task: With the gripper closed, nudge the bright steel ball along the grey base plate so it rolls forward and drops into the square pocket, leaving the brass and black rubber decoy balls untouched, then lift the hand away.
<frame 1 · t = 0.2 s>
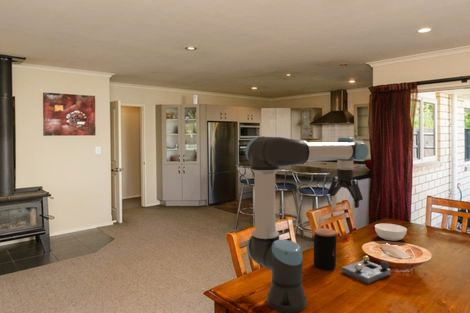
hand: (343, 211, 162), 27 cm above the table, fingers open, 13 cm apart
steel ball: (358, 267, 151), point 4 cm above the table, touching grey base plate
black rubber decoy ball: (384, 264, 153), point 4 cm above the table, touching grey base plate
bowl: (390, 239, 205), on the table
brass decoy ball: (366, 258, 162), point 4 cm above the table, touching grey base plate
grey base plate: (366, 273, 154), on the table
coffee jar: (324, 267, 162), on the table
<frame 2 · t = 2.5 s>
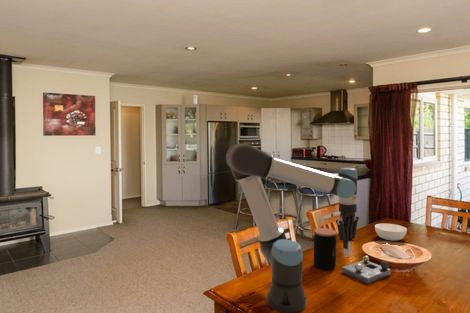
hand: (347, 255, 146), 12 cm above the table, fingers closed
nothing on the table moved.
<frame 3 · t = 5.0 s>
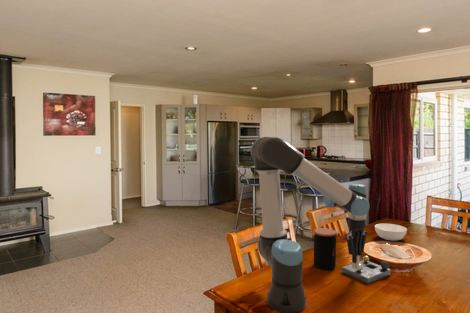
hand: (355, 268, 150), 4 cm above the table, fingers closed
steel ball: (358, 267, 151), point 4 cm above the table, touching gripper, grey base plate
everything else where it was.
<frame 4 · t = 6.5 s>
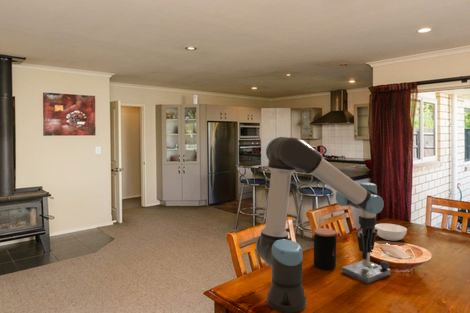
hand: (366, 265, 154), 4 cm above the table, fingers closed
steel ball: (372, 267, 157), point 2 cm above the table, tilted 23°, touching grey base plate
everything else where it was.
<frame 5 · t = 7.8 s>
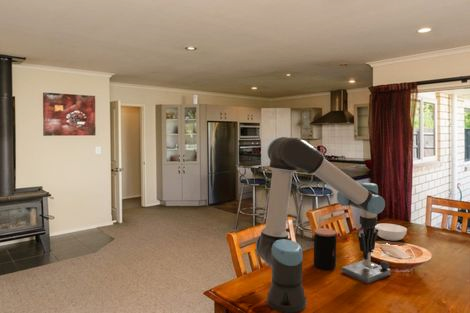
hand: (366, 265, 154), 4 cm above the table, fingers closed
steel ball: (372, 267, 157), point 2 cm above the table, tilted 22°
everything else where it was.
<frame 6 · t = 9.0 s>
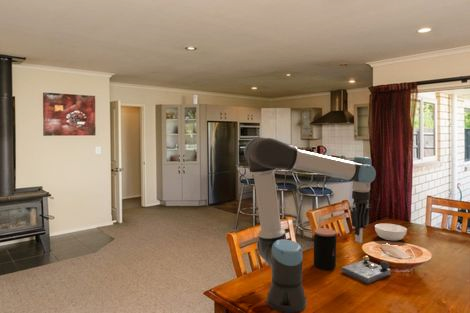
hand: (358, 241, 150), 17 cm above the table, fingers closed
nothing on the table moved.
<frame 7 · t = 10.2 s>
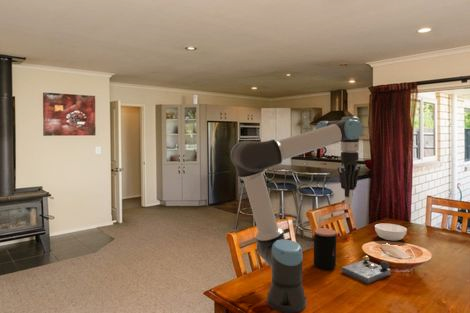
hand: (348, 203, 147), 34 cm above the table, fingers closed
nothing on the table moved.
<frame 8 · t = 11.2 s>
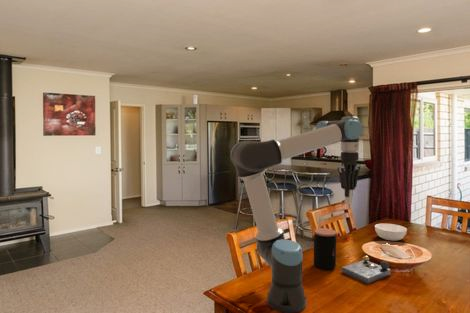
hand: (348, 203, 147), 34 cm above the table, fingers closed
nothing on the table moved.
at the end: steel ball 0.5 cm from the target spot on the grey base plate, point 1.7 cm above the grey base plate's base; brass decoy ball moved 0.0 cm from its start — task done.
